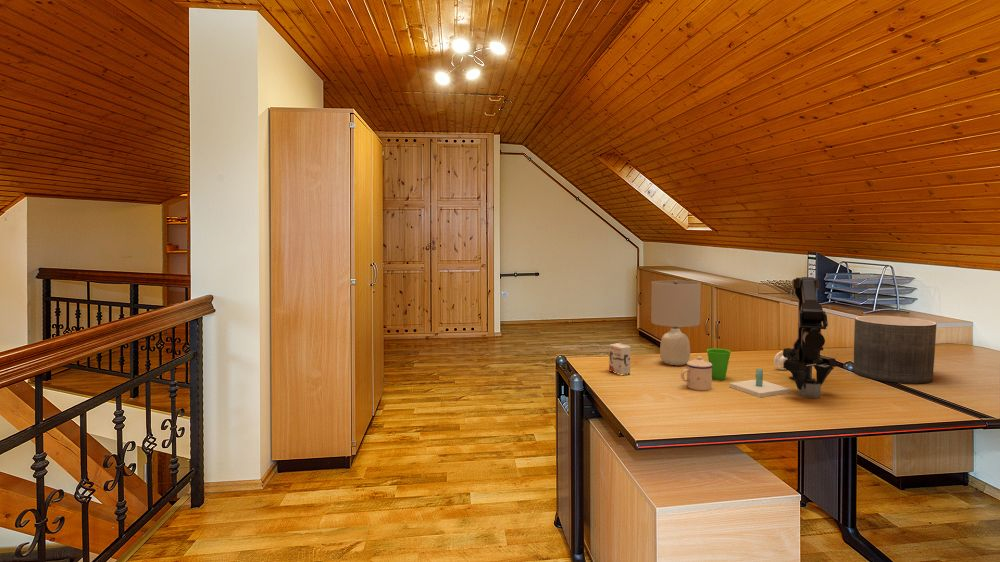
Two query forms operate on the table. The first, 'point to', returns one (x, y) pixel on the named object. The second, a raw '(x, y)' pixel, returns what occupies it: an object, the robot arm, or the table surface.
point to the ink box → (619, 358)
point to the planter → (894, 349)
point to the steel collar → (810, 389)
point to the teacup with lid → (698, 374)
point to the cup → (718, 362)
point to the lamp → (675, 316)
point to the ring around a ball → (779, 360)
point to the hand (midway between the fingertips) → (809, 387)
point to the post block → (759, 386)
